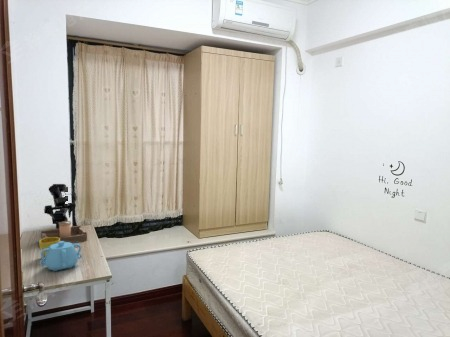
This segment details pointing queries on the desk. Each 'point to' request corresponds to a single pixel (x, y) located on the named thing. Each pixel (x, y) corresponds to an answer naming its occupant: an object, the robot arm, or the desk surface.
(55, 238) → the plant pot
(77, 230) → the frame
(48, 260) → the decorative pot
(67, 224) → the terracotta pot
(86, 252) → the desk surface
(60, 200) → the robot arm
